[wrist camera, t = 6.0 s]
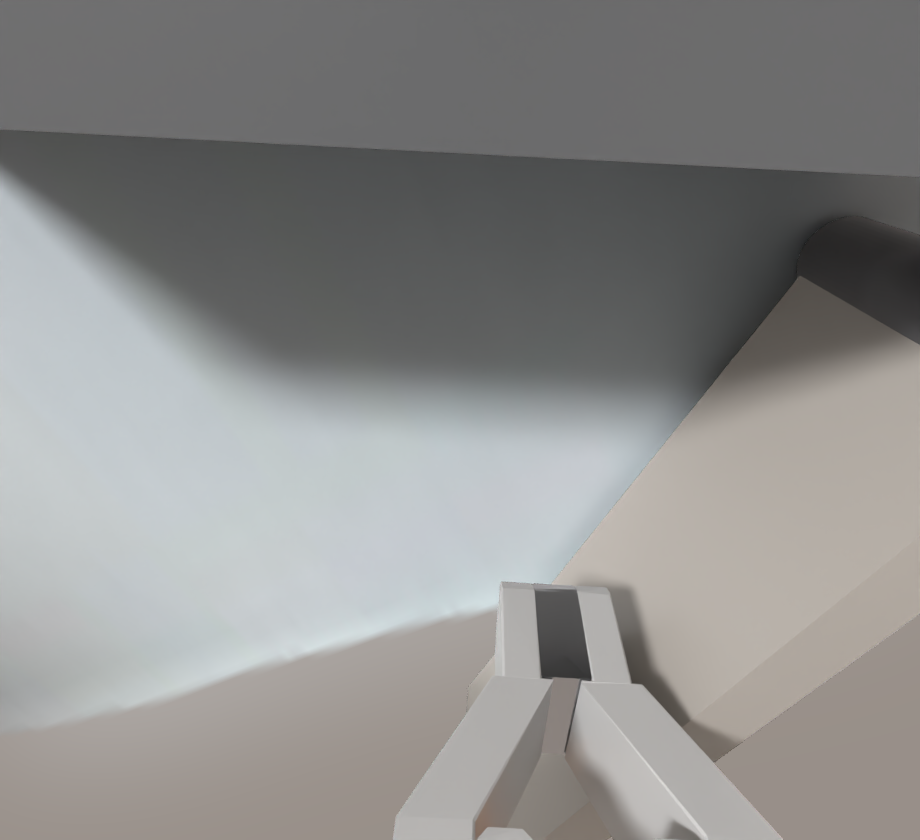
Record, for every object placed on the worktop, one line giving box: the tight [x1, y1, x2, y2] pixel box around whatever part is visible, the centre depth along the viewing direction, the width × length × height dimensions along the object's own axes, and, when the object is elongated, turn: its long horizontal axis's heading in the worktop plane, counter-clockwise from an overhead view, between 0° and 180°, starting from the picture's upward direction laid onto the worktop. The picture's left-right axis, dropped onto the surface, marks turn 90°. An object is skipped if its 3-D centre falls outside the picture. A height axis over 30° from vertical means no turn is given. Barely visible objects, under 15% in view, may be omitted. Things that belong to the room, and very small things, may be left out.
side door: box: [467, 216, 920, 840], centre depth 9 cm, size 13×2×5 cm, turn 155°
